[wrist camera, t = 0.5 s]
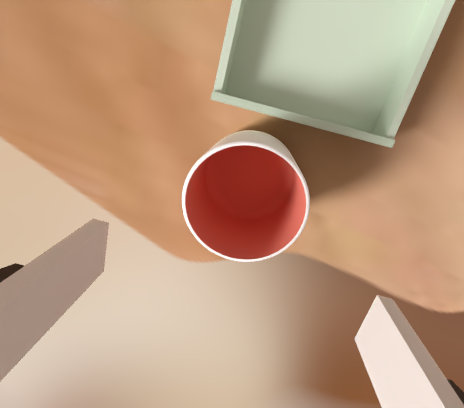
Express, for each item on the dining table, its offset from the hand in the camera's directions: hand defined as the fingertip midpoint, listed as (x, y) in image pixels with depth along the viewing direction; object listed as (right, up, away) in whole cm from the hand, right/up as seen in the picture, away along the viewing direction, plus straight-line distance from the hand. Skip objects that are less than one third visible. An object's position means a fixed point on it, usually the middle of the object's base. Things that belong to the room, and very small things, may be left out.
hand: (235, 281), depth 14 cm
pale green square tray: (+8, +20, +13) cm, 25 cm away
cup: (+2, +7, +18) cm, 20 cm away
